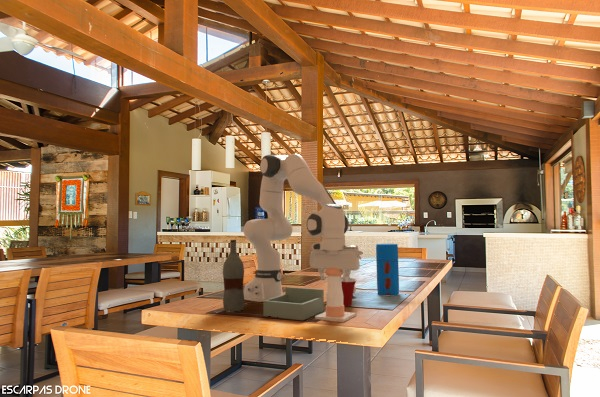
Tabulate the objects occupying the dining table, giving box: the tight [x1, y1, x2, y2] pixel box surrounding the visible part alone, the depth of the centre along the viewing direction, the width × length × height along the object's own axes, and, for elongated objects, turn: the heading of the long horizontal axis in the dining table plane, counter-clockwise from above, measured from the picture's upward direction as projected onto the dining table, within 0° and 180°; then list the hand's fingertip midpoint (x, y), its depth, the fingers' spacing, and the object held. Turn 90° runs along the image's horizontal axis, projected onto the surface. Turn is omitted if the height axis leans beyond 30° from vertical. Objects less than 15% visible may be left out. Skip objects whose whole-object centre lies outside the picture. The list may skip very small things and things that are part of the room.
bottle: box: [222, 239, 246, 313], centre depth 184 cm, size 9×9×30 cm
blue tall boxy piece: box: [375, 243, 400, 297], centre depth 218 cm, size 11×11×25 cm
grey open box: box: [262, 286, 325, 321], centre depth 175 cm, size 18×18×9 cm
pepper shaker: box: [325, 268, 346, 317], centre depth 167 cm, size 7×7×19 cm
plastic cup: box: [341, 276, 358, 308], centre depth 190 cm, size 11×11×12 cm
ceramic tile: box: [314, 311, 357, 323], centre depth 167 cm, size 12×12×1 cm
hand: (334, 280), depth 168 cm, fingers open, 8 cm apart
